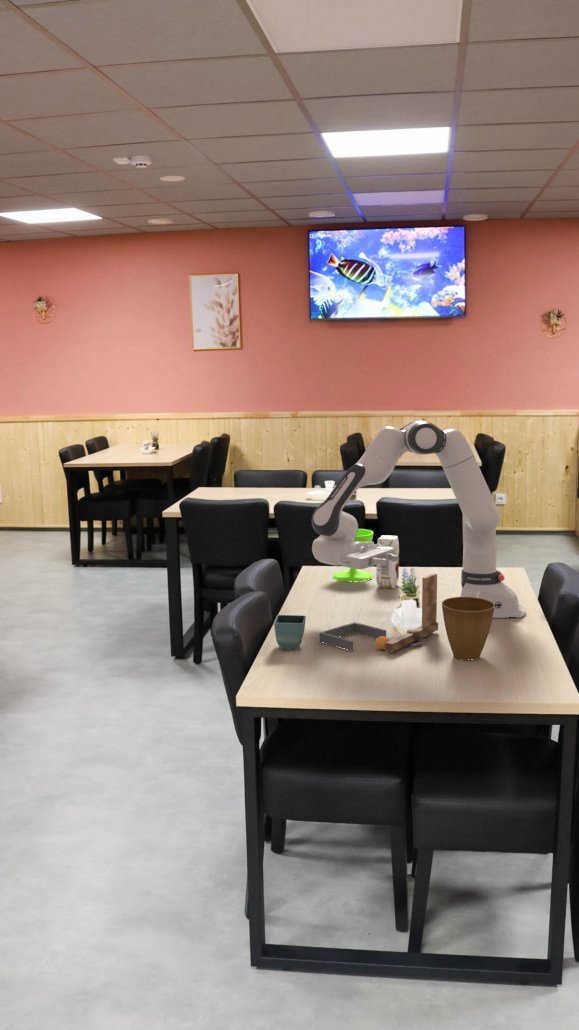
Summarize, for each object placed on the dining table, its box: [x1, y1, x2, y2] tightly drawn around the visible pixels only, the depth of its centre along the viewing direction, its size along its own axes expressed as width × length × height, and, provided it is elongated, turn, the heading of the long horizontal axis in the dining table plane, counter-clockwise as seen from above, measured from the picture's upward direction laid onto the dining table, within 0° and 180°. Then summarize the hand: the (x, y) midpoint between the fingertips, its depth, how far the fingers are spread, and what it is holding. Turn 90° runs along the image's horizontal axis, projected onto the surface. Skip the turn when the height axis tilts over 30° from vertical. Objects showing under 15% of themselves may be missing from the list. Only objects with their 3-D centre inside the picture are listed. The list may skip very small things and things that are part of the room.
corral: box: [318, 621, 387, 651], centre depth 285 cm, size 13×16×3 cm
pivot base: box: [406, 637, 428, 647], centre depth 282 cm, size 8×8×1 cm
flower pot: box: [273, 614, 307, 650], centre depth 278 cm, size 9×9×9 cm
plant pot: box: [441, 596, 495, 661], centre depth 267 cm, size 15×15×16 cm
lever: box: [384, 572, 439, 653], centre depth 280 cm, size 27×4×18 cm, turn 142°
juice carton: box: [376, 534, 400, 589], centre depth 349 cm, size 8×9×19 cm
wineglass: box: [332, 528, 374, 583], centre depth 364 cm, size 16×16×18 cm
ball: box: [375, 636, 390, 651], centre depth 276 cm, size 4×4×4 cm
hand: (392, 560), depth 294 cm, fingers open, 5 cm apart
